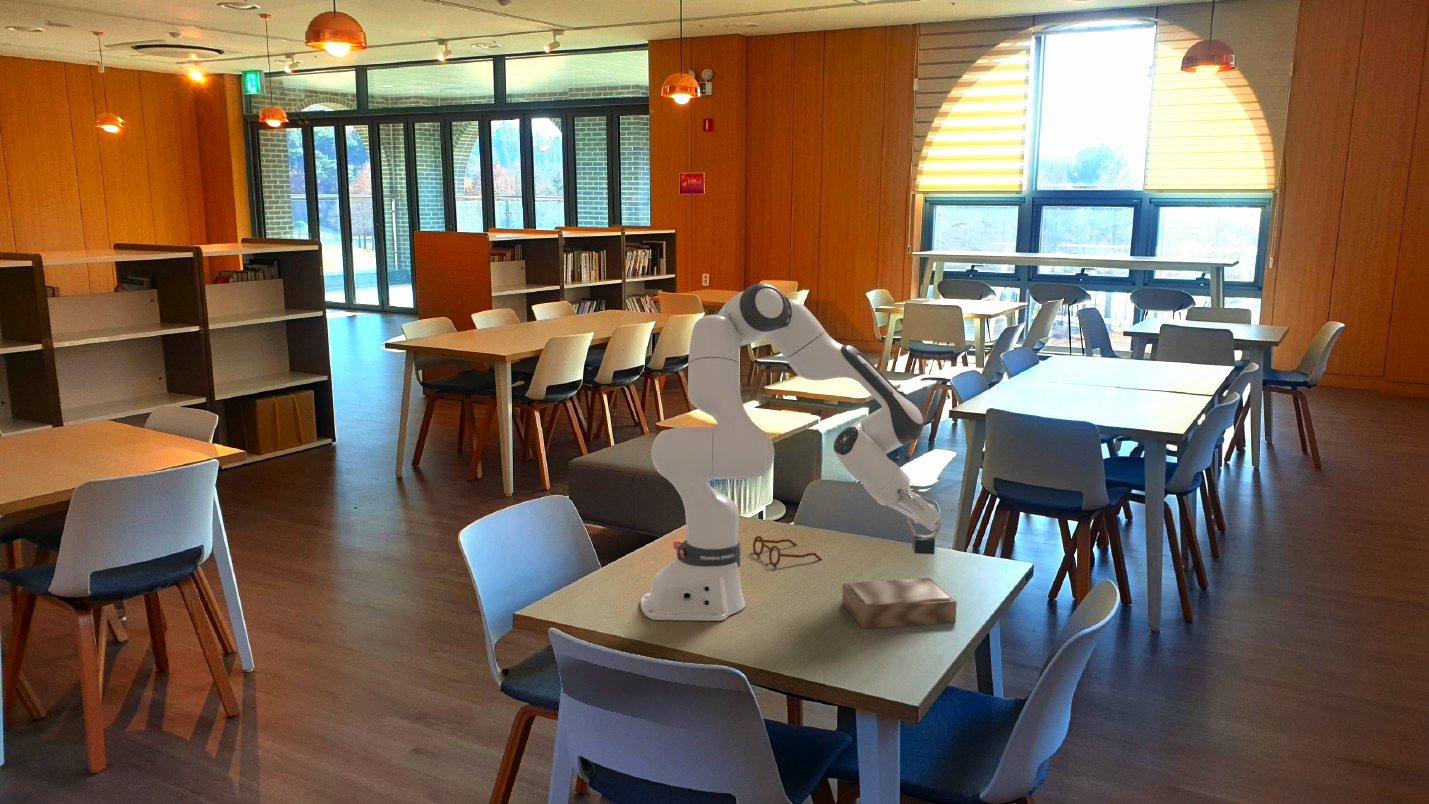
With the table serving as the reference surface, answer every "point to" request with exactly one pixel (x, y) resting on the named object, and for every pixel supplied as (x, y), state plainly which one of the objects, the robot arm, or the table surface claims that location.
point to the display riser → (898, 603)
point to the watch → (924, 538)
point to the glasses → (778, 549)
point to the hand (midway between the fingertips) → (927, 525)
